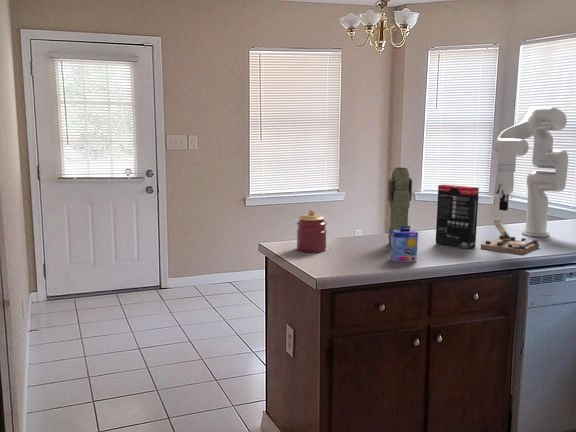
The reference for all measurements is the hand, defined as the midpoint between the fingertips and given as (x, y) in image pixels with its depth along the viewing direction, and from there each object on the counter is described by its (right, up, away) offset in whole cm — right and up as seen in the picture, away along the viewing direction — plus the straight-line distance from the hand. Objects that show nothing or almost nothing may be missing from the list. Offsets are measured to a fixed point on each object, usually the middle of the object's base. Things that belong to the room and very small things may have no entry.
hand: (503, 210), depth 248 cm
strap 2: (+8, -15, -1) cm, 17 cm away
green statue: (-44, -16, +10) cm, 48 cm away
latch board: (+4, -17, +3) cm, 18 cm away
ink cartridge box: (-48, -21, -21) cm, 56 cm away
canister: (-84, -18, -1) cm, 86 cm away
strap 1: (+2, -10, +6) cm, 11 cm away
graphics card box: (-19, -16, +8) cm, 26 cm away
